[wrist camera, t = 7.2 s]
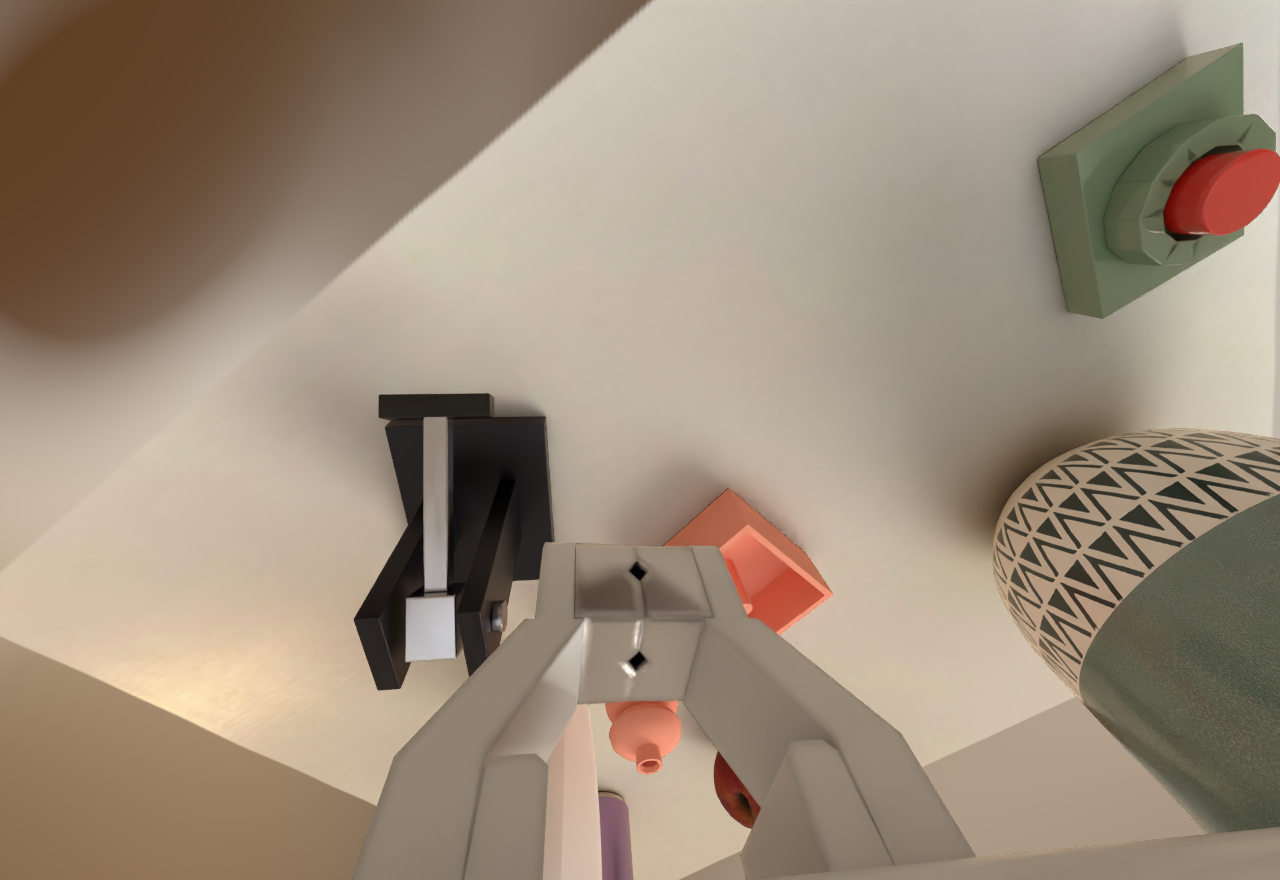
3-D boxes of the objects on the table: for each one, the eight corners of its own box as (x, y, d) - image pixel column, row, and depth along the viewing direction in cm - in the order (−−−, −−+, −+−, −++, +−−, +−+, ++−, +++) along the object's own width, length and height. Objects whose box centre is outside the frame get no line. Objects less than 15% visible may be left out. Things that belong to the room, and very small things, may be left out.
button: (1158, 184, 22) (1201, 181, 21) (1234, 135, 22) (1284, 129, 20) (1163, 249, 24) (1204, 251, 22) (1235, 205, 23) (1282, 204, 22)
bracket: (392, 418, 27) (268, 547, 16) (545, 416, 28) (521, 535, 17) (427, 573, 32) (350, 746, 22) (556, 567, 33) (542, 729, 23)
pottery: (728, 488, 32) (783, 591, 23) (807, 554, 35) (880, 666, 26) (563, 635, 36) (555, 768, 27) (647, 680, 40) (664, 811, 31)
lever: (394, 400, 23) (371, 391, 20) (497, 398, 23) (486, 390, 21) (393, 644, 22) (369, 665, 20) (499, 637, 22) (488, 657, 20)
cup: (486, 695, 38) (433, 947, 25) (556, 657, 37) (540, 900, 24) (539, 735, 41) (517, 978, 28) (605, 701, 40) (615, 937, 27)
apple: (731, 699, 42) (761, 797, 35) (797, 714, 44) (838, 810, 37) (692, 746, 45) (713, 846, 38) (756, 758, 47) (787, 855, 40)
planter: (1196, 503, 37) (1835, 801, 18) (975, 627, 41) (1310, 978, 22) (1156, 317, 29) (2215, 501, 10) (887, 493, 33) (1291, 861, 14)
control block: (1036, 158, 24) (1113, 148, 21) (1187, 56, 23) (1297, 27, 20) (1067, 312, 29) (1136, 325, 25) (1197, 233, 27) (1289, 235, 24)
